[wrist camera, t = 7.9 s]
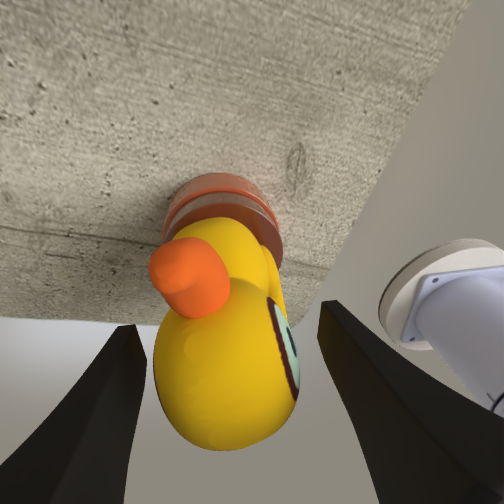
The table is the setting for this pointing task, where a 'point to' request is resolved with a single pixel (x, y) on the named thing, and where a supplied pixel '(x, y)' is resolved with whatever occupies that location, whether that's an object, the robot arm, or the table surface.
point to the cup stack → (224, 209)
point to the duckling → (222, 337)
